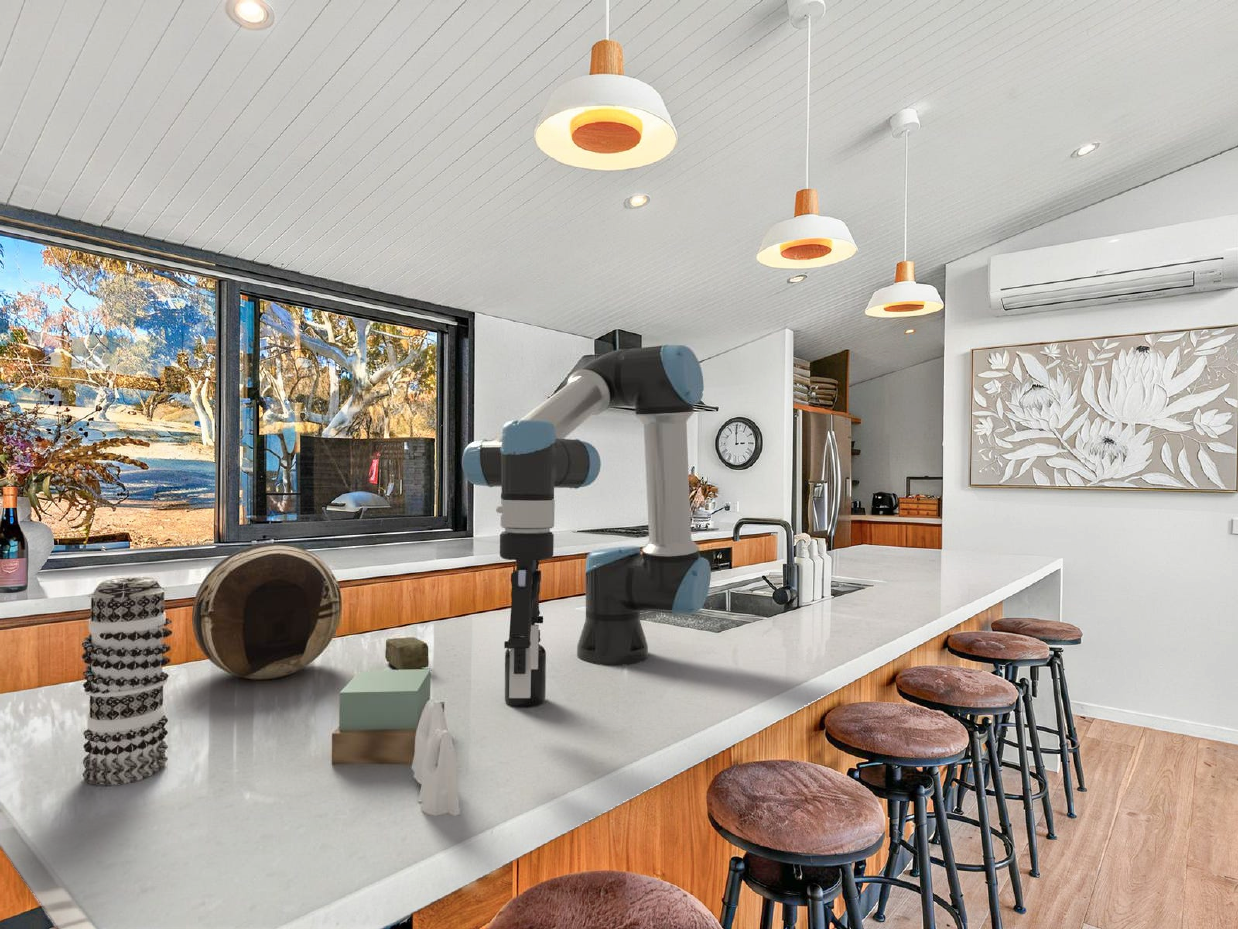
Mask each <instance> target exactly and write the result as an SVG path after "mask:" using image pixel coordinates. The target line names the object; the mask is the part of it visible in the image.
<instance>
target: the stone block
mask: <svg viewBox="0 0 1238 929" xmlns="http://www.w3.org/2000/svg"><path fill="white" fill-rule="evenodd" d="M384 657H385V658H384V659H385V660H386V662H387V663H388V664H390V666H393V667H394V668H395V669H396V670H414V669H424V668H428V667H429V664H430V660H429V646H428V643H427V642H424V641H423V640H420V639H418V638H416V637H415V636H414V637H411V636H409V637H399V638H398V637H397V638H387V639H386V641H385V652H384Z"/></svg>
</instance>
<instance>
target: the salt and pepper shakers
mask: <svg viewBox="0 0 1238 929" xmlns="http://www.w3.org/2000/svg"><path fill="white" fill-rule="evenodd" d="M440 702H441V701H439V700H435V701H434V700H433V699H430V700H429V701H428V702H427V703H426V705H425V708H424V710H423V712H422V715H421V718H420V721H419V724H418V728H417V732H416V736H415V754H414V759H413V763H412V764H411V770H412V771H413V778H414V779H415V780H416V782H417V783H418V784H420V785H421V786H420V791H419V794H418V799H417V800H418V803H420V810H421V812H423V813H425V814H427V815H430V816H434V817H436V816H437V817H438V816H440V815H441V816H442V815H445V814H450V815H452V816H457V815H460V814H461V810H460V801H459V800H460V799H459V792H458V791H459V762H458V757H457V753H456V750H455V746H454V741H453V738H452V734H451V733H450V731H449V728H448V725H447V724H448V723H447V720H446V717H445V711H444V712H443V708H442V705H441V703H440Z"/></svg>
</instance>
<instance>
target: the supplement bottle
mask: <svg viewBox="0 0 1238 929" xmlns="http://www.w3.org/2000/svg"><path fill="white" fill-rule="evenodd" d="M540 642H541V630H540V629H539V637H538V669H531V696H530V698H509V676H510V648H506V650H505V652H504V702H505V704H506V705H507V706H510V707H513V708H521V709H522V708H524V709H526V708H534V707H537V706H541V705H542V704H543V703H544V702H545V700H546V691H547V690H546V689H547V688H546V687H547V685H546V684H547V683H546V681H547V679H546V678H547V676H546V675H547V672H546V671H547V670H546V669H547V666H546V664H547V653H546V649H545V647H544V646H543V645H542V644H540Z"/></svg>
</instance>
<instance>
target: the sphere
mask: <svg viewBox="0 0 1238 929" xmlns="http://www.w3.org/2000/svg"><path fill="white" fill-rule="evenodd" d="M342 599H343V598H342V593H341V588H340V585H339V583H338V580H337V578H336V577H335V575H334V573H333V571H332V570H331V569H330V567H329V565H327V564H326V563H325V562H324V561H323V560H322V559H321V558H320V557H319V556H317V555H316V554H314V553H313V552H312V551H309V550H308V549H305V548H302V547H301V546H297V545H294V544H289V543H282V542H268V543H266V542H265V543H260V544H255V545H251V546H248V547H244V548H242V549H239V550H237V551H235V552H233V553H231V554H230V555H228V556H227V557H225V558H224V559H222V560H221V561H220V562H218V563H217V564H216V565H215V566H214V567H213V568H212V569H211V570H210V571H209V573H208V574H207V575H206V576H205V578H204V579H203V581H202V582H201V584H200V586H199V588H198V589H197V592H196V594H195V598H194V601H193V605H192V612H191V621H192V623H191V624H192V629H193V634H194V637H195V640H196V643H197V645H198V646H199V649H200V650H201V651H202V653H203V654H204V656H205V657H206V658H207V659H208V660H209V661H210V662H211V663H212V664H214V665H215V666H216V667H217V668H219V669H220V670H223V671H224V672H225V673H227V674H230V675H233V676H236V677H239V678H242V679H248V680H261V681H262V680H273V679H278V678H282V677H285V676H288V675H291V674H294V673H296V672H297V671H300V670H302V669H304V668H305V667H307V666H308V665H309V664H311V663H313V662H314V661H315V660H316V659H317V658H319V656H320V655H322V653H323V652H324V651H325V650H326V649H327V647H328V646H329V645H330V643H331V642H332V640H333V639H334V636H335V634H336V633H337V631H338V628H339V624H340V620H341V618H342V610H343V609H342V608H343V603H342V602H343V600H342Z"/></svg>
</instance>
